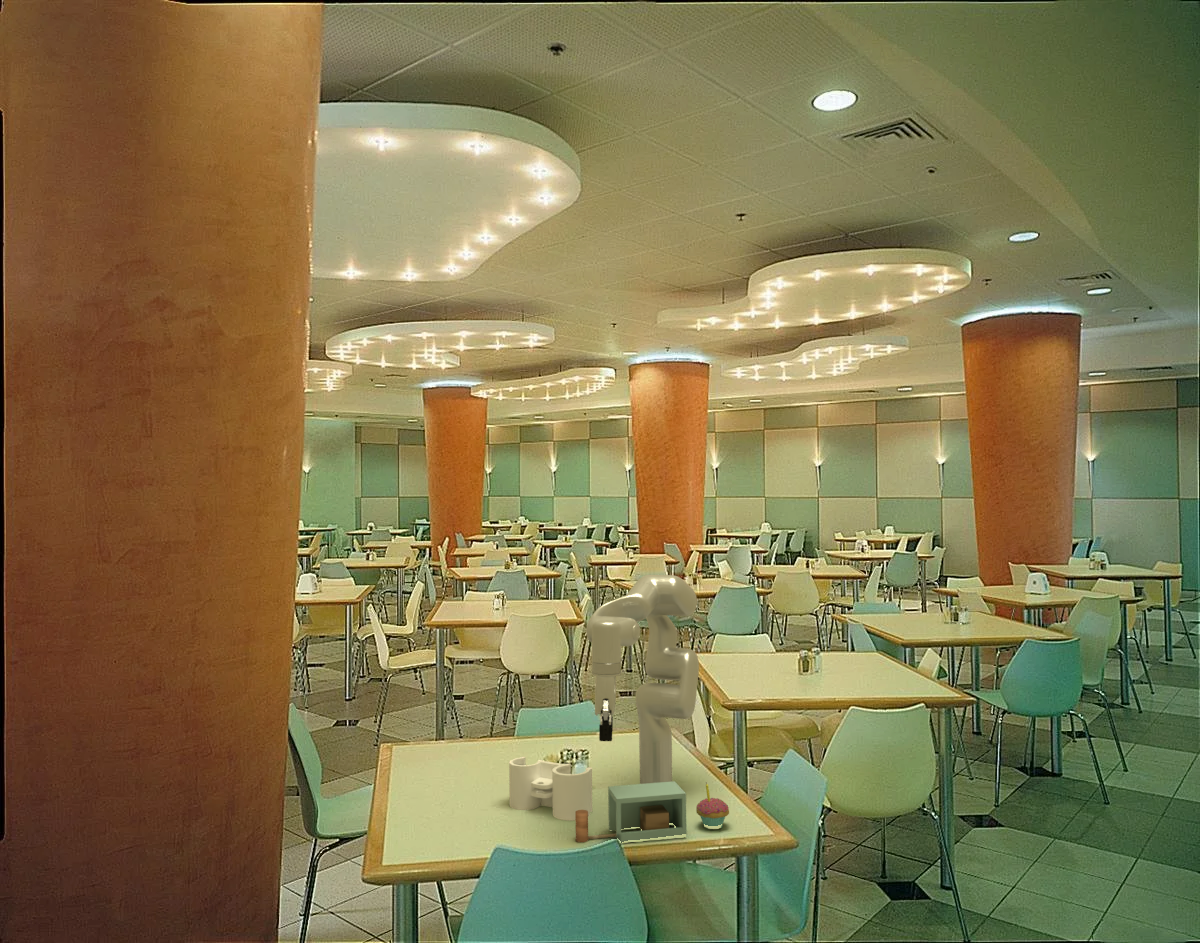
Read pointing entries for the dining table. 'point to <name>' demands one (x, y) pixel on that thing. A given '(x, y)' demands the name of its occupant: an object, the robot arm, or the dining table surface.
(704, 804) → the cupcake
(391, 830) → the dining table surface
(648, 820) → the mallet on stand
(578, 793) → the bracket
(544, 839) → the dining table surface
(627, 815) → the plain rectangular box
